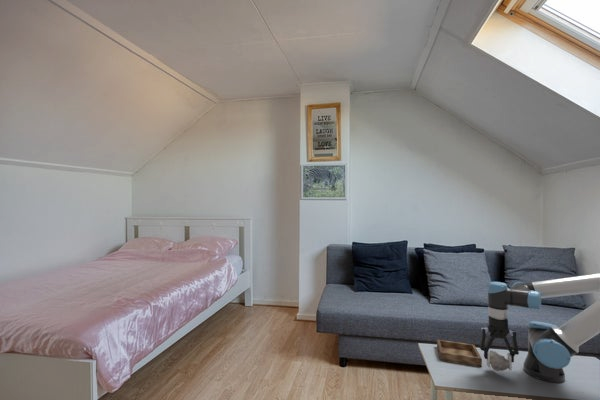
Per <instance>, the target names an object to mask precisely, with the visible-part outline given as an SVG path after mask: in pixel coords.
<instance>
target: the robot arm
mask: <svg viewBox="0 0 600 400" xmlns="http://www.w3.org/2000/svg"><path fill="white" fill-rule="evenodd" d="M487 287H488V288H487V299H488V303H487V305H488V306H487V307H488V326H486V327H483V326H481V327H480V330H481V335H480V341H479V345H478V347H479V349H480V351H482V352H483V358H484V360H486V366H487V368H490V369H491V364H490V353H489V352H490V351H489V350H490V349H491V347H492V344H493V343H494V340H495V339H502V340H503V342H504V344H505V346H506V348H507V350H508V352H507V355H506V356H507V360H508V361H509V368H508V370H509V371H512V364H513V363H514V362H515V356H516V355H517V356H518V355H519V354H520V351H519V347H518V343H517V332H516V331H515V330H514V329H512V330H511V329H509V320H508V319H509V318H508V317H509V311H508V308H509V307H508V306H511V307H519V308H525V309H526V308H527V309H534V310H537V309H538V310H540V309H541V308H542V299H547V298H554V297H555V298H556V297H565V296H566V297H567V296H575V295H585V294H586V295H587V294H595V293H600V272H598V273H593V274H592V273H591V274H584V275H578V276H577V275H576V276H569V277H561V278H554V279H547V280H541V281H540V280H538V281H530V282H522V281H518V282H515V283H514V284H512V286H511V287H508V284H507V283H505V282H501V281H491V282H488V285H487ZM527 329H528V332H527V333H528V335H527V336H528V337H527V338H528V339H527V341H528V342H527V345H528V346H527V351H528V352H527V354H526V357H525V359H524V362H523V371H524V372H525V373H526V374H528V375H530V376H531V377H534V378H536V379H539V380H541V381H544V382H548V383H564V382H565V380H566V375H565V372H564V368H566V367H567V366H568V365H570V362H571V359H572V357H574V356H575V355H577V354H578V353H579V350H580V348H579V347H580V346H581V345H583V344H584V343H587V342H588V341H589V340H591V339H592V338H594V337H595V336H597V335H599V334H600V299H598V300H596V301H595V302H594V303H593V304H591V305H590V306H588V307H587V308H585V309H583V310H582V311H581V312H579V313H578V314H576V315H575V316H574V317H572V318H571V319H569V320H567V321H566V322H565V323H563V324H562V325H560V326H558V325H555V324H553V323H548V322H543V321H536V320H535V321H534V320H533V321H532V320H531V321H529V322H528V327H527ZM488 332H489V333H490V334H489V337H488V339H487V341H486V337H487V333H488ZM508 334H509V336H510V338H511V343H512V347H513V349H512V347H511V345H510V342H509V340H508V338H507V335H508ZM485 342H486V343H485Z"/></svg>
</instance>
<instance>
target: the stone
mask: <svg viewBox="0 0 600 400" xmlns="http://www.w3.org/2000/svg"><path fill="white" fill-rule="evenodd" d="M489 353H490V368H492V370H494V371H495V372H502V371H505V370H507V369H508V368H509V361H508V358H506V357H505V356H504V355H501V354H499V353H498V352H496V351H493V350H490V351H489ZM508 370H509V369H508Z"/></svg>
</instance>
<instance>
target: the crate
mask: <svg viewBox="0 0 600 400" xmlns="http://www.w3.org/2000/svg"><path fill="white" fill-rule="evenodd" d="M436 348H437V349H436V350H437V352H438V353H437V354H438V356H439V359H440V361H441V362H447V363H452V364H453V363H454V364H459V365H460V364H461V365H466V366H467V365H468V366H473V367H479V368H482V367H483V366H482V362H483V360H482V359H483V358H482V355H480V353H479V351H478V349H477V347H476V344H472V343H466V342H458V341H451V340H442V339H436Z"/></svg>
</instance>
